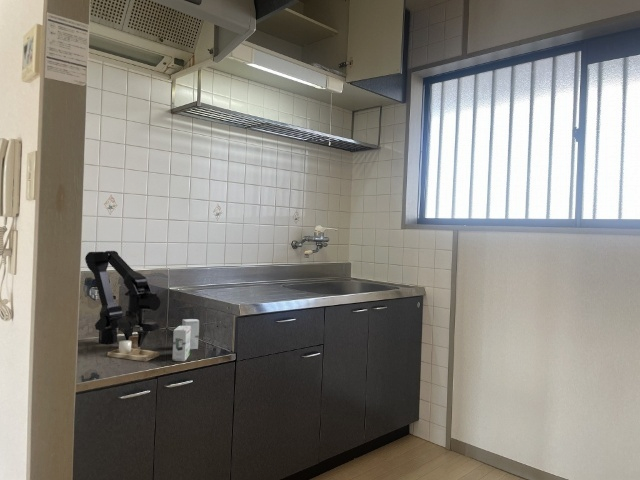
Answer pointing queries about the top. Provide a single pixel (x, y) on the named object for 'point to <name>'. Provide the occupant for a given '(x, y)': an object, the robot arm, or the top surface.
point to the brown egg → (134, 342)
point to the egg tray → (135, 354)
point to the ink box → (181, 343)
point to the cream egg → (125, 347)
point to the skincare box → (192, 331)
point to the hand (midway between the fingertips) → (134, 346)
